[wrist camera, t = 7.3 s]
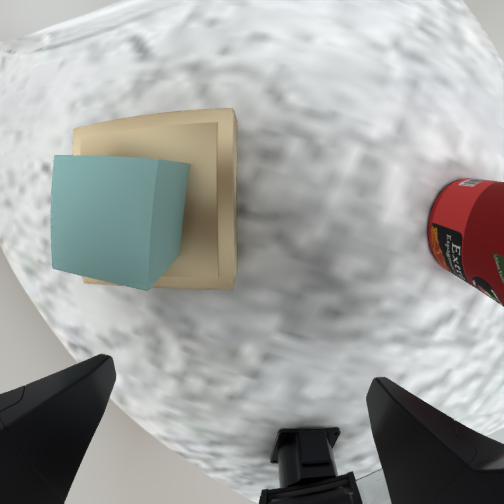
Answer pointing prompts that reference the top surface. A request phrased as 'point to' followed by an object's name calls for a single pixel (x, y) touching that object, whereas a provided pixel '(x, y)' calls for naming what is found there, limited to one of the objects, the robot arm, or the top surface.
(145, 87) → the top surface
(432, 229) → the canned food
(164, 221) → the teal cube
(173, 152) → the bamboo box
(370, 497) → the skincare box
